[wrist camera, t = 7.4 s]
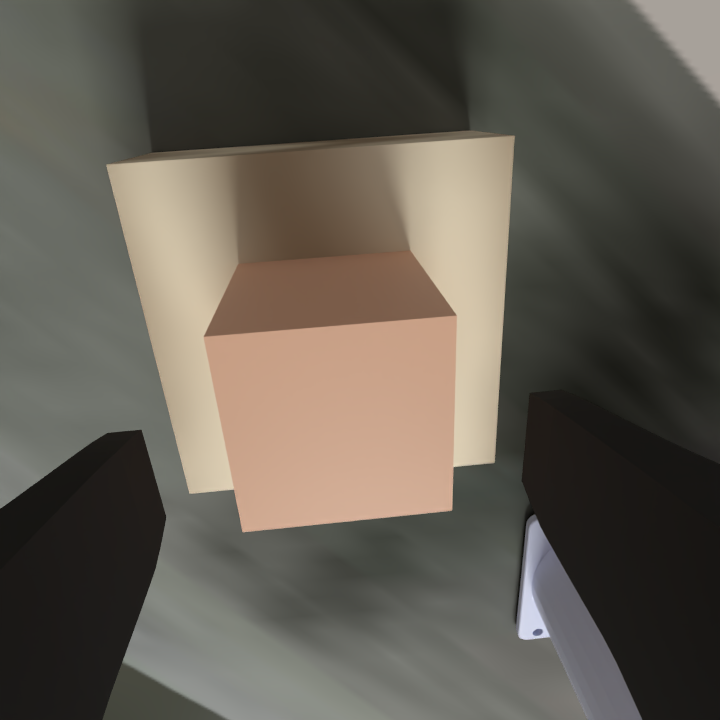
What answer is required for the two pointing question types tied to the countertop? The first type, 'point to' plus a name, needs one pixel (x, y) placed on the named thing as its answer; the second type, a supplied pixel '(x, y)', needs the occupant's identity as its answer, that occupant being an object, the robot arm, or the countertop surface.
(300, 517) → the block
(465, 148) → the base
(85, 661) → the robot arm
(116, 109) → the countertop surface
